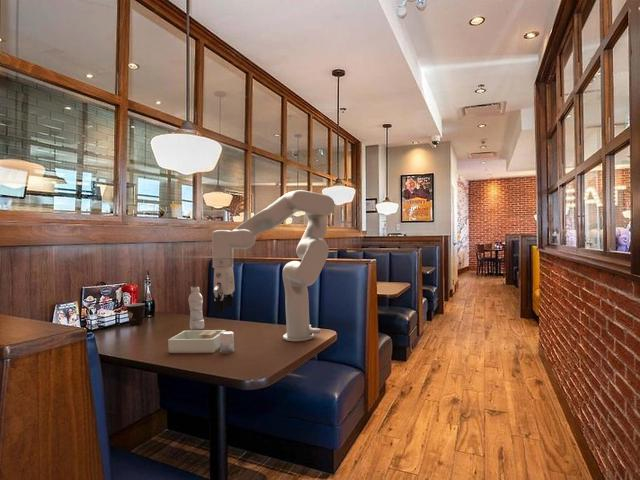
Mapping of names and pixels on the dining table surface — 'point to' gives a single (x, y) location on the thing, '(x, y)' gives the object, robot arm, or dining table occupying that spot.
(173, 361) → the dining table surface
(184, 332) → the tote
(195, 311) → the plastic bottle
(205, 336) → the maple cube
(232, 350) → the steel cylinder
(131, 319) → the coffee mug
